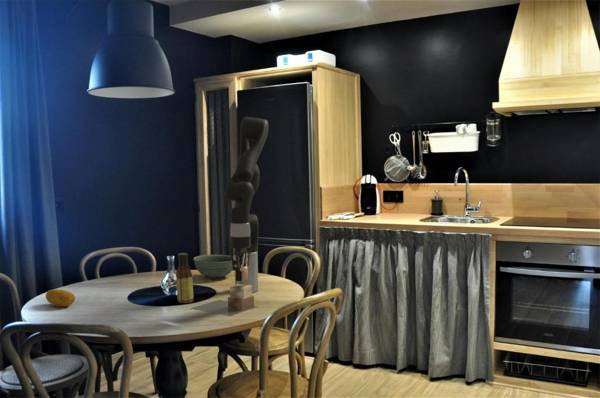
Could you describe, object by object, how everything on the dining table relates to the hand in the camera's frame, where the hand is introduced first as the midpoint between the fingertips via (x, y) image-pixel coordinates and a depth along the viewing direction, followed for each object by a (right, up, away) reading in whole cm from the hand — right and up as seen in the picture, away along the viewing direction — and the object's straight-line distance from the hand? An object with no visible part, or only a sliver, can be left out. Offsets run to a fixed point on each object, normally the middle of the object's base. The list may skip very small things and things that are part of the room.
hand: (241, 279), depth 217 cm
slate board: (-7, -11, 0) cm, 13 cm away
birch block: (0, -7, 0) cm, 7 cm away
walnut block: (0, -11, +1) cm, 11 cm away
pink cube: (0, 0, 0) cm, 0 cm away
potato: (-72, -12, +8) cm, 73 cm away
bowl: (-19, -8, +60) cm, 63 cm away
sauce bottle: (-24, -11, +11) cm, 28 cm away
